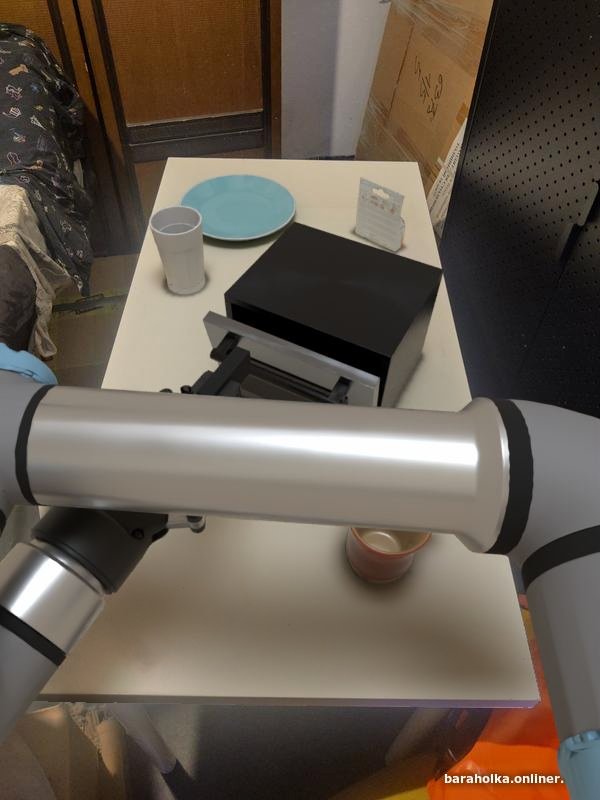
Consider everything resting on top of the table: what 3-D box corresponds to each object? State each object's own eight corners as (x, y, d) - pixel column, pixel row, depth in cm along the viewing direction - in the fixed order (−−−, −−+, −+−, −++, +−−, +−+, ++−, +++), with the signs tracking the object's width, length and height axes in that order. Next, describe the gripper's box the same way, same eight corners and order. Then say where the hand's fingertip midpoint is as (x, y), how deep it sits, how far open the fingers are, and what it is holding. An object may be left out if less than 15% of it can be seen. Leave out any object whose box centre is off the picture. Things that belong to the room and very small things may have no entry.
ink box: (361, 227, 104) (368, 170, 95) (402, 247, 100) (413, 188, 91) (352, 234, 103) (358, 176, 94) (393, 254, 99) (404, 195, 90)
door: (357, 471, 70) (361, 412, 57) (214, 406, 76) (187, 339, 63) (373, 441, 72) (380, 377, 59) (232, 380, 78) (209, 310, 65)
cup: (160, 272, 94) (146, 209, 85) (206, 265, 96) (197, 202, 87) (165, 301, 89) (151, 238, 80) (213, 293, 91) (205, 230, 82)
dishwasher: (373, 441, 72) (391, 357, 60) (233, 380, 79) (223, 293, 66) (420, 355, 83) (444, 269, 70) (293, 308, 89) (294, 221, 77)
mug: (355, 604, 59) (366, 566, 51) (328, 532, 64) (334, 488, 56) (455, 572, 61) (480, 531, 53) (420, 505, 67) (439, 459, 59)
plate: (313, 236, 102) (314, 223, 100) (197, 261, 96) (195, 248, 94) (273, 178, 115) (272, 165, 113) (168, 198, 109) (166, 184, 107)
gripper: (21, 549, 44) (193, 361, 57) (151, 630, 40) (303, 408, 53) (-21, 503, 38) (182, 306, 51) (128, 593, 34) (305, 354, 47)
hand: (244, 358), depth 52 cm, fingers closed
